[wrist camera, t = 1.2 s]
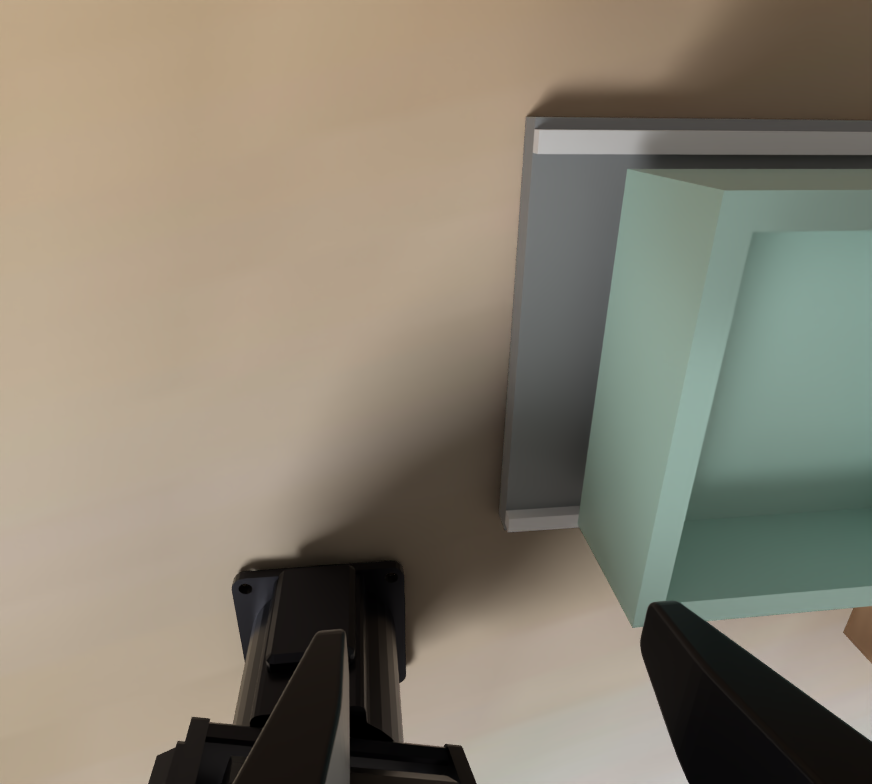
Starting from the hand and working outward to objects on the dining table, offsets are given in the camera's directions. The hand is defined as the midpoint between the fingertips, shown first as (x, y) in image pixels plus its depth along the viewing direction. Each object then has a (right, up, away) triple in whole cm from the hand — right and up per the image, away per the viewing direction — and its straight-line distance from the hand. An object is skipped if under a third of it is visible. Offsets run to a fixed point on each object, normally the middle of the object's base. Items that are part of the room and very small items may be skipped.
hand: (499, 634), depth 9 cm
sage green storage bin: (+10, +5, +11) cm, 15 cm away
